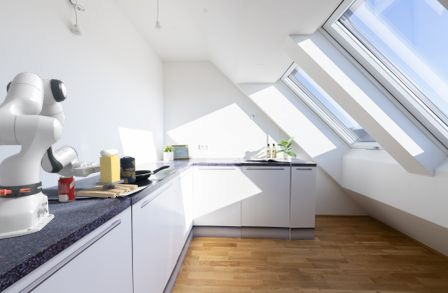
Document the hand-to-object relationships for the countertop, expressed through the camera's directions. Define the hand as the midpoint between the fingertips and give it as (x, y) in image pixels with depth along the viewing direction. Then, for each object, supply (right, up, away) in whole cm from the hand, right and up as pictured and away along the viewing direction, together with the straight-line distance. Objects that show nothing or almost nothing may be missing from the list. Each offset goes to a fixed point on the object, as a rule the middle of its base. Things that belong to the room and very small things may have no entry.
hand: (104, 169), depth 132 cm
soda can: (-8, -13, -19) cm, 25 cm away
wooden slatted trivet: (+3, -12, 0) cm, 13 cm away
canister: (+3, -12, +25) cm, 28 cm away
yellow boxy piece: (+3, -8, 0) cm, 8 cm away
